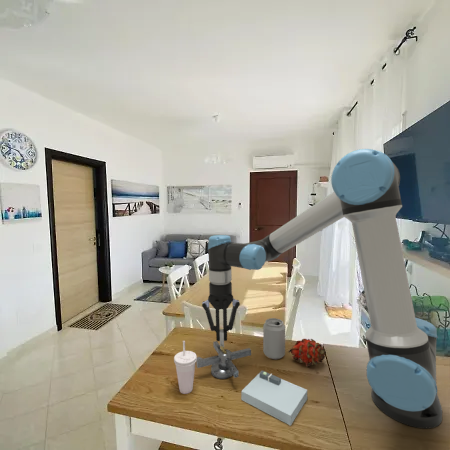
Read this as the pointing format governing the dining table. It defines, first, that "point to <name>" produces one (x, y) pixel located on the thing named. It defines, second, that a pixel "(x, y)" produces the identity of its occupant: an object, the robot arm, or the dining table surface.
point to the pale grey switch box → (275, 396)
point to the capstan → (223, 361)
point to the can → (274, 338)
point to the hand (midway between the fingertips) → (222, 349)
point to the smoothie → (185, 369)
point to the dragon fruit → (308, 352)
